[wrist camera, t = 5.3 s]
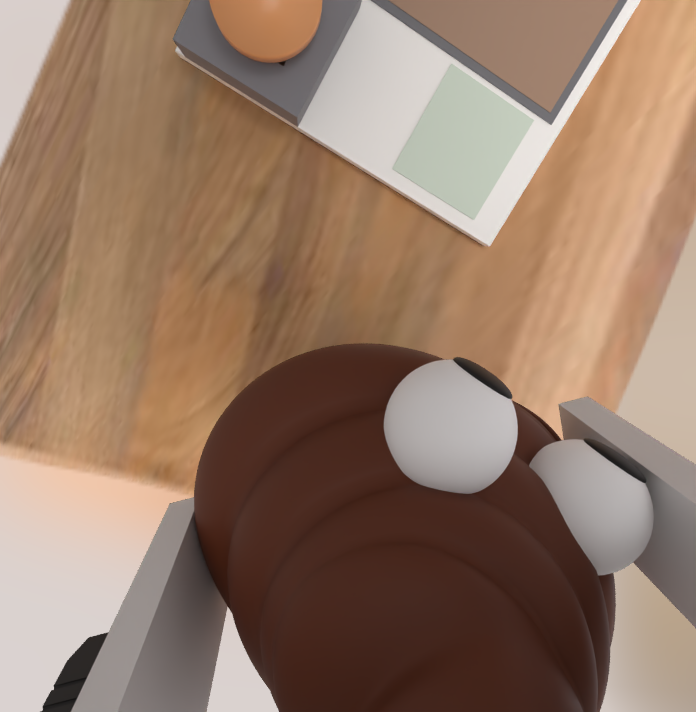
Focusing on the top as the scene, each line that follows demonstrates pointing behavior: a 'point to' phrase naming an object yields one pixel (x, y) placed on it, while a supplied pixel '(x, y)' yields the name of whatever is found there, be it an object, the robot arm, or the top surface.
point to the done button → (268, 26)
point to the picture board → (429, 90)
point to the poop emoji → (414, 538)
